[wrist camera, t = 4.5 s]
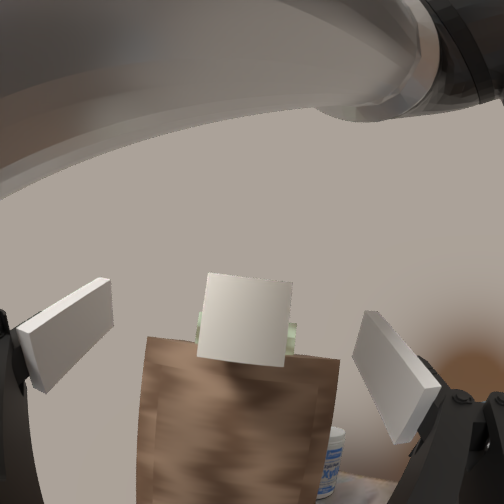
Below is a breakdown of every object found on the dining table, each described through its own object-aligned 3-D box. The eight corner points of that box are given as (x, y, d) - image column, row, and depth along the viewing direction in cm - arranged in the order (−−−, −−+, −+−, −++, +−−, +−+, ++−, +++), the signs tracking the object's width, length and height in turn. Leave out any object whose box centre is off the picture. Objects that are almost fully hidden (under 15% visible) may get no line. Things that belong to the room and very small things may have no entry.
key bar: (263, 349, 29) (267, 312, 30) (283, 367, 12) (292, 282, 13) (225, 344, 29) (230, 308, 30) (196, 356, 12) (208, 272, 14)
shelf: (273, 539, 24) (307, 329, 35) (283, 597, 11) (343, 318, 21) (169, 526, 24) (188, 314, 35) (142, 579, 11) (154, 295, 22)
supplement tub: (326, 504, 35) (341, 439, 39) (279, 495, 39) (290, 432, 44) (337, 485, 43) (350, 427, 47) (296, 478, 47) (306, 422, 52)
